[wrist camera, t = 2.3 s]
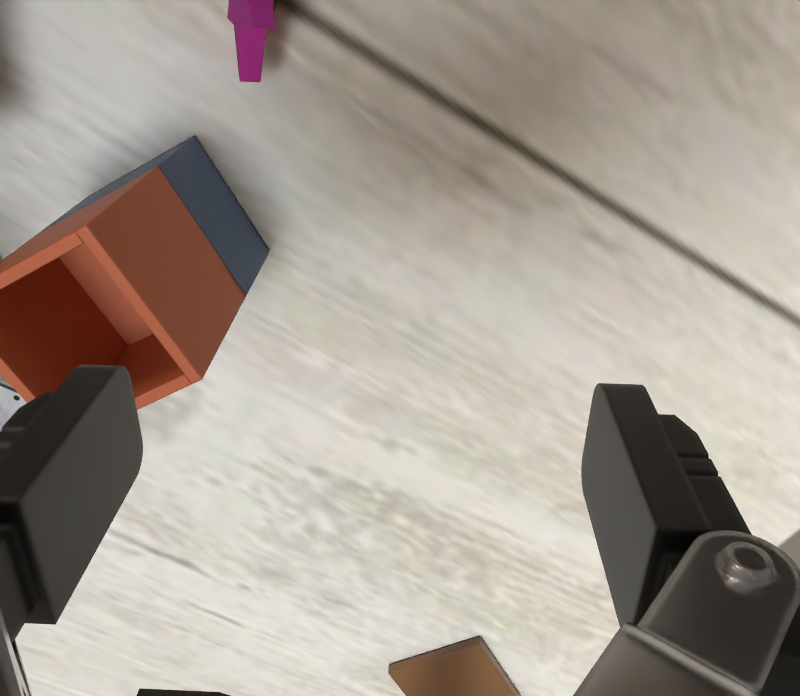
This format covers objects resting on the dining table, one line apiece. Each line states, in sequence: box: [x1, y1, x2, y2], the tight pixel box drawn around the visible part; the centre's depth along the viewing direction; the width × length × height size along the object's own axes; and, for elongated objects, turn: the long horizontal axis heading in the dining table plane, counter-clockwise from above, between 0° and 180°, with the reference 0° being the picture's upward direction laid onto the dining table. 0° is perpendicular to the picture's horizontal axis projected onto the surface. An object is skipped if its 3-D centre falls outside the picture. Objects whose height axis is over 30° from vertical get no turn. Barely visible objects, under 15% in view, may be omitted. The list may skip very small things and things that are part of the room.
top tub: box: [0, 166, 246, 410], centre depth 24 cm, size 6×6×6 cm
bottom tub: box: [38, 136, 269, 295], centre depth 29 cm, size 6×6×4 cm
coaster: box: [388, 636, 520, 696], centre depth 44 cm, size 6×6×1 cm
